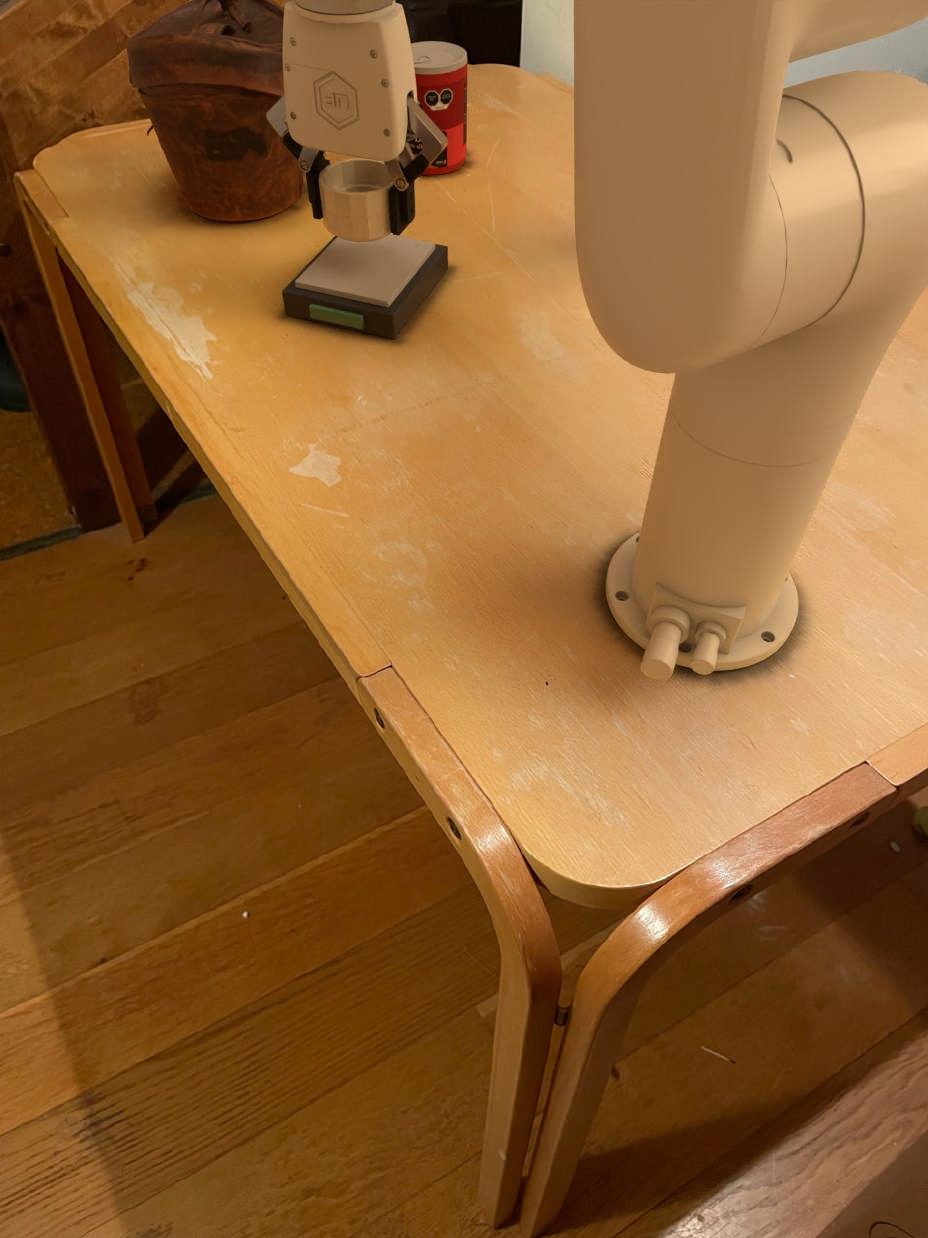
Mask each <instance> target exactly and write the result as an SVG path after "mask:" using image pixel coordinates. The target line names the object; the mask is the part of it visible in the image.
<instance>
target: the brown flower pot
mask: <svg viewBox="0 0 928 1238" xmlns="http://www.w3.org/2000/svg"><path fill="white" fill-rule="evenodd" d="M284 8H285V7H284V6H282V5H281V4H279V3H277V2H276V1H274V0H190V1H187V2H185V3H183V4H181V5H180V6H178V7H176V8H174V9H172V10H170V11H168V12H166V13H164V14H163V15H161V16H160V17H158V18H157V19H155V20H154V21H153V22H152V23H150V24H149V25H148V26H146V27H144V28H143V29H142V30H139V32H137V33H136V34H135V35H133V36H131V37H128V38H127V40H126V42H125V48H126V49H125V50H126V52H127V61H128V73H129V74H128V75H129V76H128V77H129V83H130V85H131V87H132V88H135V89H137V92H138V95H139V96H140V98H141V101H142V103H143V105H144V107H145V109H146V113H147V115H148V118H149V120H150V123H151V125H150V127H149V128H148V129H147V131H146V136H147V137H149V134H150V133H151V132H152V130H154V132H155V135H156V137H157V140H158V143H159V145H160V148H161V150H162V152H163V154H164V156H165V159H166V161H167V163H168V166H169V169H170V171H171V173H172V175H173V179H174V180H175V182H176V185H177V187H178V190H179V192H180V194H181V197H182V199H183V201H184V203H185V205H186V206H187V208H188V209H189V210H190V211H191V212H193V213H194V214H197V215H198V216H201V217H203V218H206V219H210V220H214V221H218V222H219V221H220V222H248V221H256V220H260V219H264V218H268V217H272V216H274V215H276V214H277V215H278V214H279V213H282V212H284V211H285V210H287V209H288V208H289V209H290V207H292V205H294V204H295V203H296V202H297V201H298V200H299V199H300V198H302V196H303V195H304V191H305V188H304V172H303V171H301V170H300V168H299V166H298V160H297V159H296V158H295V157H294V155H293V154H292V153H291V152H290V151H289V150H288V148H287V147H286V146H285V145H284V143H283V138H282V137H281V136H279V134H278V133H277V132H276V130H275V129H274V128H273V127H272V125H271V124H270V123H269V121H268V120H267V117H266V114H267V112H268V111H269V110H270V109H271V108H272V107H273V106H274V105H275V104H276V103H277V102H278V101H279V100H280V99H281V97H282V96H283V95H284V94H285V93H284V78H283V22H284Z"/></svg>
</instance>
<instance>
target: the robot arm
mask: <svg viewBox="0 0 928 1238" xmlns="http://www.w3.org/2000/svg"><path fill="white" fill-rule="evenodd" d="M283 8H284V22H283V78H284V93H285V94H284V95H283V96H282V97H281V99H280V100H279V101H278V102H277V103H276V104H275V105H274V106H273V107H272V108H271V109H270V110H269V111H268V112H267V114H266V117H267V120H268V121H269V123H270V124H271V125H272V127H273V128H274V129H275V130H276V132H277V133H278V134H279V136H281V137H282V138H283V143H284V145H285V146H286V147H287V148H288V150H289V151H290V152H291V153H292V154H293V155H294V157H295V158H296V159H297V160H298V166H299V168H300V170H301V171H303V173H304V174H305V180H306V188H307V189H306V190H307V195H308V196H307V197H308V202H309V204H311V211H312V212H311V213H312V217H313V219H315V220H319V221H320V220H321V219H323V212H322V204H321V195H320V187H319V175H320V172H321V171H322V170H323V169H324V168H325V167H326V166H328V165H330V164H331V160H330V159H326V157H325V156H326V153H331V154H336V155H342V156H348V157H352V158H363V159H369V160H375V161H383V162H384V164H385V166H386V168H387V170H388V172H389V174H390V177H391V179H392V181H393V183H394V185H393V186H392V187H391V188H390V190H389V211H390V228H391V235H396V236H401V234H402V233H403V232H404V231H405V230H406V229H407V228H408V226H409V225H410V224H411V223H412V222H413V221H414V219H415V217H416V193H415V189H416V188H415V181H416V180H417V179H418V178H419V177H420V176H422V173H423V172H424V171H425V170H426V169H427V168H428V167H429V166H430V165H431V163H432V162H433V161H434V160H435V159H436V158H437V157H438V155H439V154H440V153H441V152H442V151H443V150H444V149H445V147H446V146H447V145H448V139H447V137H446V136H445V135H444V134H443V133H442V131H441V130H440V129H439V128H438V127H437V126H436V125H435V124H434V122H433V121H432V120H431V119H430V118H429V117H428V116H427V114H426V113H425V112H424V111H423V110H422V109H421V108H420V106H419V105H418V103H417V89H416V79H415V70H414V62H413V54H412V48H411V44H412V43H411V37H410V31H409V27H408V24H407V19H406V14H405V10H404V7H403V5H402V4H401V3H398V2H396V0H288V1H286V3H284V7H283ZM927 17H928V0H573V130H574V131H573V133H574V134H573V140H574V141H573V180H574V181H573V183H574V185H573V187H574V188H573V191H574V192H573V195H574V197H573V198H574V237H575V248H576V249H575V250H576V252H575V253H576V259H577V268H578V275H579V280H580V285H581V289H582V294H583V297H584V301H585V303H586V306H587V309H588V312H589V315H590V317H591V319H592V322H593V323H594V325H595V328H596V329H597V331H598V332H599V335H600V336H601V338H602V339H603V340H604V342H605V343H606V345H607V346H608V347H609V348H610V349H611V350H612V352H614V353H615V354H616V355H617V356H619V357H620V358H621V359H622V360H623V361H625V362H627V363H628V364H630V365H631V366H634V367H636V368H638V369H640V370H643V371H646V372H650V373H659V374H674V378H673V383H672V388H671V391H670V396H669V400H668V405H667V409H666V414H665V418H664V424H663V426H662V431H661V436H660V440H659V445H658V450H657V455H656V458H655V463H654V468H653V471H652V472H653V473H652V478H651V482H650V487H649V490H648V494H647V495H648V496H647V500H646V505H645V508H644V513H643V518H642V522H641V527H640V530H639V531H638V532H636V533H635V534H633V535H631V536H629V538H628V539H626V540H625V541H624V542H623V543H622V544H621V545H620V546H619V547H618V548H617V550H616V551H615V553H614V554H613V556H612V558H611V560H610V562H609V565H608V568H607V572H606V573H607V574H606V579H605V598H606V601H607V605H608V608H609V611H610V612H611V614H612V616H613V618H614V619H615V622H616V624H617V625H618V626H619V627H620V628H621V630H622V631H623V632H624V633H625V635H626V636H627V637H628V638H630V639H631V640H632V641H633V642H634V643H636V644H637V645H638V646H639V647H640V648H642V649H643V650H644V654H643V656H642V660H641V664H640V666H639V668H640V670H641V673H642V674H643V675H644V676H646V677H647V678H649V679H652V680H655V681H665V680H668V679H671V676H673V673H674V671H675V670H674V669H675V666H676V665H677V666H681V667H685V668H688V669H692V671H693V672H695V673H697V674H698V675H703V676H706V675H710V674H712V673H713V672H714V671H715V672H717V671H732V670H733V671H734V670H737V669H743V668H747V667H750V666H753V665H755V664H758V663H760V662H762V661H764V660H766V659H768V658H769V657H770V656H772V655H773V654H774V653H776V652H777V651H779V649H780V648H781V647H782V646H783V645H784V644H785V643H786V642H787V640H788V638H789V636H790V634H791V633H792V631H793V628H794V626H795V624H796V621H797V618H798V615H799V601H800V600H799V595H798V590H797V586H796V584H795V582H794V579H793V577H792V575H791V573H790V570H791V568H792V566H793V563H794V561H795V559H796V556H797V554H798V551H799V549H800V547H801V545H802V542H803V540H804V538H805V535H806V532H807V530H808V528H809V526H810V523H811V521H812V519H813V516H814V513H815V511H816V509H817V507H818V504H819V502H820V500H821V497H822V495H823V492H824V490H825V488H826V485H827V482H828V480H829V478H830V475H831V473H832V471H833V468H834V466H835V464H836V462H837V459H838V457H839V455H840V452H841V449H842V448H843V445H844V443H845V441H846V439H847V438H848V435H849V433H850V432H851V428H852V427H853V423H854V421H855V418H856V417H857V415H858V412H859V410H860V408H861V405H862V403H863V401H864V398H865V395H866V393H867V392H868V389H869V387H870V385H871V383H872V381H873V379H874V377H875V375H876V373H877V371H878V368H879V366H880V364H881V363H882V362H883V361H882V360H883V359H884V357H885V356H886V354H887V351H888V350H889V348H890V346H891V344H892V343H893V341H894V339H895V338H896V336H897V334H898V333H899V331H900V330H901V328H902V326H903V325H904V323H905V321H906V320H907V319H908V317H909V315H910V313H911V312H912V311H913V309H914V307H915V305H916V304H917V303H918V301H919V299H920V298H921V296H922V295H923V293H924V292H925V290H926V289H927V288H928V287H927V286H928V84H927V83H925V82H922V81H921V80H919V79H917V78H915V77H912V76H909V75H906V74H902V73H900V72H895V71H889V70H888V71H887V70H854V71H853V70H852V71H847V72H842V73H836V74H830V75H826V76H821V77H818V78H815V79H811V80H807V81H803V82H801V83H797V84H794V85H791V86H787V87H785V83H786V77H787V72H788V67H789V64H790V63H794V62H797V61H801V60H804V59H808V58H811V57H815V56H818V55H821V54H826V53H829V52H832V51H835V50H838V49H842V48H845V47H848V46H849V47H850V46H852V45H856V44H859V43H862V42H866V41H869V40H872V39H873V40H874V39H876V38H880V37H882V36H885V35H889V34H891V33H894V32H896V31H900V30H903V29H905V28H907V27H909V26H911V25H914V24H916V23H918V22H920V21H922V20H924V19H926V18H927ZM416 136H417V137H418V138H419V139H420V140H421V141H422V143H423V149H422V151H421V152H420V153H419V154H418V155H417V156H416V157H415V158H414V156H413V153H412V151H411V149H410V147H409V144H408V142H409V141H412V140H414V139H415V138H416Z"/></svg>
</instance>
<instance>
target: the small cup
mask: <svg viewBox="0 0 928 1238" xmlns="http://www.w3.org/2000/svg"><path fill="white" fill-rule="evenodd" d="M393 185H394V183H393V181H392V179H391V177H390V174H389V172H388V170H387V168H386V166H385V164H384V162H383V161H375V160H369V159H363V158H358V157H352V158H347V159H342V160H338V161H335V162H333V163H330V165H328V166H326V167H325V168H324V169H323V170H322V171H321V172H320V175H319V187H320V195H321V204H322V212H323V218H322V220H323V226H324V227H325V229H326V230H327V232H328V233H330V234H332V235H334V236H335V235H336V236H338V237H339V238H341V239H344V240H347V241H352V242H371V241H376V240H379V239H382V238H384V237H386V236H388V235H389V234H391V235H392V233H391V228H390V211H389V190H390V188H391V187H392V186H393Z"/></svg>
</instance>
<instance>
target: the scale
mask: <svg viewBox="0 0 928 1238" xmlns="http://www.w3.org/2000/svg"><path fill="white" fill-rule="evenodd" d="M448 270H449V246H448V245H444V244H439V243H435V242H431V241H426V240H421V239H420V240H419V239H416V238H411V237H406V236H401V235H399V236H397V235H393V234H392V233H391V234H389V235H388V236H386V237H384V238H382V239H379V240H376V241H371V242H352V241H347V240H344V239H341V238H339V237H338V236H336V235H334V236H333V238H331V240H329V241H328V242H327V243H326V245H324V247H323V248H322V249H321V250H319V252H318V253H317V254H316V255H315V256H314V257H313V258H312V259H311V260H310V261H309V262H308V263H307V264H306V265H305V266H304V267H303V269H301V270H300V271H299V273H298V274H297V275H295V277H294V278H293V279H292V280H290V282H289V283H287V285H286V286H285V287H284V288H283V289H282V290H281V295H282V301H283V306H284V313H285V315H286V316H290V317H295V318H298V319H303V320H308V321H312V322H317V323H321V324H324V325H325V324H326V325H329V326H335V327H338V328H342V329H347V330H351V331H356V332H361V333H365V334H368V335H372V336H373V335H374V336H378V337H382V338H386V339H390V340H396V338H397V337H398V335H399V334H400V333H401V332H402V330H403V329H404V328H405V327H406V325H407V324H408V323H409V321H410V320H411V318H413V316H414V315H415V313H416V312H417V311H418V310H419V308H420V307H421V306H422V304H423V303H424V301H425V300H426V299H427V298H428V296H429V295H430V293H431V292H432V291H433V290H434V289H435V287H436V286H437V285H438V283H439V282H440V281H441V279H442V278H443V277H444V275H445V274H446V273H447V272H448Z"/></svg>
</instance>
